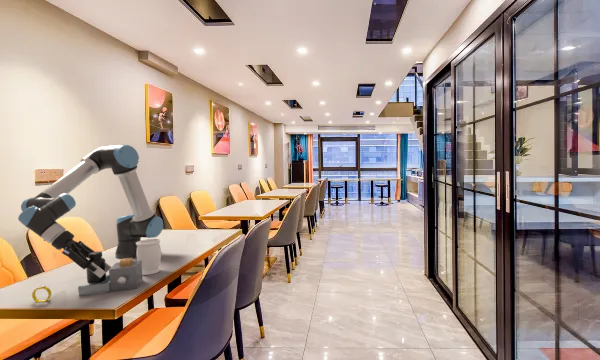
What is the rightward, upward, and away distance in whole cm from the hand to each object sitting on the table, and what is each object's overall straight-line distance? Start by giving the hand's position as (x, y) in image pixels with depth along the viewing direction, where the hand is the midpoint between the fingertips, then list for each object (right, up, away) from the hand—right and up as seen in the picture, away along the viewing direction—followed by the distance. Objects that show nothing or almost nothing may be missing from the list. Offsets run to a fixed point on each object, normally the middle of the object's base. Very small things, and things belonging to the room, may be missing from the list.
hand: (106, 272), depth 139 cm
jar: (+10, -6, +19) cm, 22 cm away
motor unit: (+3, -7, 0) cm, 7 cm away
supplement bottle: (-3, -4, -1) cm, 5 cm away
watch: (-18, -8, -11) cm, 23 cm away
